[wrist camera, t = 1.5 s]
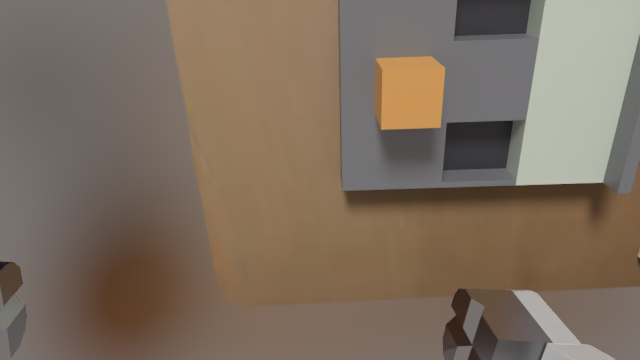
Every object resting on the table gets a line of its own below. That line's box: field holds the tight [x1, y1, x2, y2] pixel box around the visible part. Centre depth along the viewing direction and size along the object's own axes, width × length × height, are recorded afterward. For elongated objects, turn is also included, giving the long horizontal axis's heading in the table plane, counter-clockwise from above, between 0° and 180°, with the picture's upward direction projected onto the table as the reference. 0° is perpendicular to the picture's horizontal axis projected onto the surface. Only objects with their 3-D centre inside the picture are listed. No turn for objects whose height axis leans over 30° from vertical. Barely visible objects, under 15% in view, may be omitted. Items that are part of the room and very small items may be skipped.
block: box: [375, 56, 445, 130], centre depth 32 cm, size 4×4×4 cm
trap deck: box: [338, 0, 640, 194], centre depth 34 cm, size 22×17×4 cm
